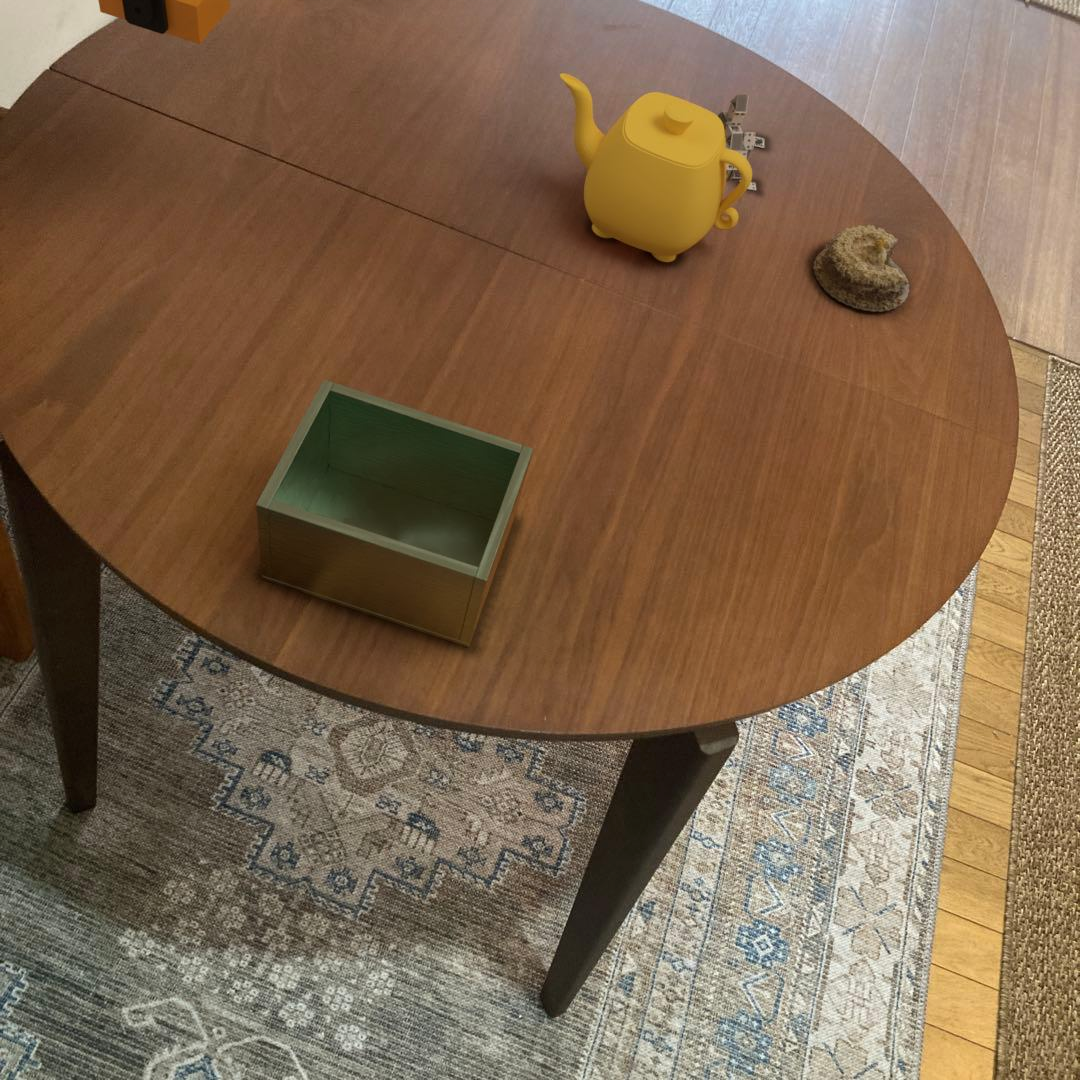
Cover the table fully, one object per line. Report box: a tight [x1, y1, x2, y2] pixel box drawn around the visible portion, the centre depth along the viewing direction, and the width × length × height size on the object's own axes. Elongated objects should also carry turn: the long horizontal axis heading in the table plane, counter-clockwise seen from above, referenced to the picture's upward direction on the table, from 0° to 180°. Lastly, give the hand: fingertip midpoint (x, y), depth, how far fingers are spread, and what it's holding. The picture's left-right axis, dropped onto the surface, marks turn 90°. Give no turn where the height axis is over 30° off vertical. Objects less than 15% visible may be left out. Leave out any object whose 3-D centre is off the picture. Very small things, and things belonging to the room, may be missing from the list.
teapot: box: [559, 72, 753, 263], centre depth 98 cm, size 14×20×13 cm
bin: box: [255, 378, 534, 648], centre depth 74 cm, size 16×12×10 cm
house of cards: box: [717, 93, 765, 191], centre depth 108 cm, size 9×9×8 cm
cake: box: [812, 224, 911, 313], centre depth 102 cm, size 10×10×5 cm
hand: (165, 4), depth 80 cm, fingers closed on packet, 5 cm apart
